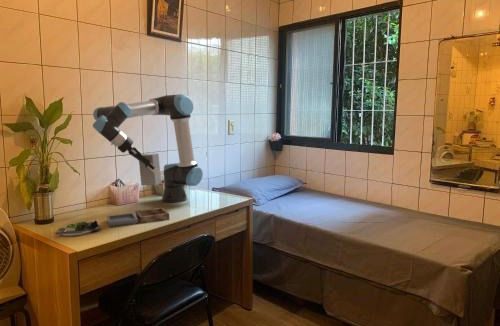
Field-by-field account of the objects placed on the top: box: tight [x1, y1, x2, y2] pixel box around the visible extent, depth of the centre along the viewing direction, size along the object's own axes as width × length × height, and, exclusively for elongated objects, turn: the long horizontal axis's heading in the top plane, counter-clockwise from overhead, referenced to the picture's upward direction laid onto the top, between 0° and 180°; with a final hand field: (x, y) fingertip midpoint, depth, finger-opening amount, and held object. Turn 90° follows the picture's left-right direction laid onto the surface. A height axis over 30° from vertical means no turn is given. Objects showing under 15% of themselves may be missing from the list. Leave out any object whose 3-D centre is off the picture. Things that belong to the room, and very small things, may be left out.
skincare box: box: [138, 152, 162, 186], centre depth 189 cm, size 8×7×16 cm
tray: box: [106, 212, 139, 228], centre depth 185 cm, size 13×13×2 cm
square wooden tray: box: [135, 207, 170, 224], centre depth 192 cm, size 14×14×3 cm
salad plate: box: [55, 219, 101, 237], centre depth 171 cm, size 19×18×5 cm
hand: (156, 171), depth 191 cm, fingers closed on skincare box, 10 cm apart
